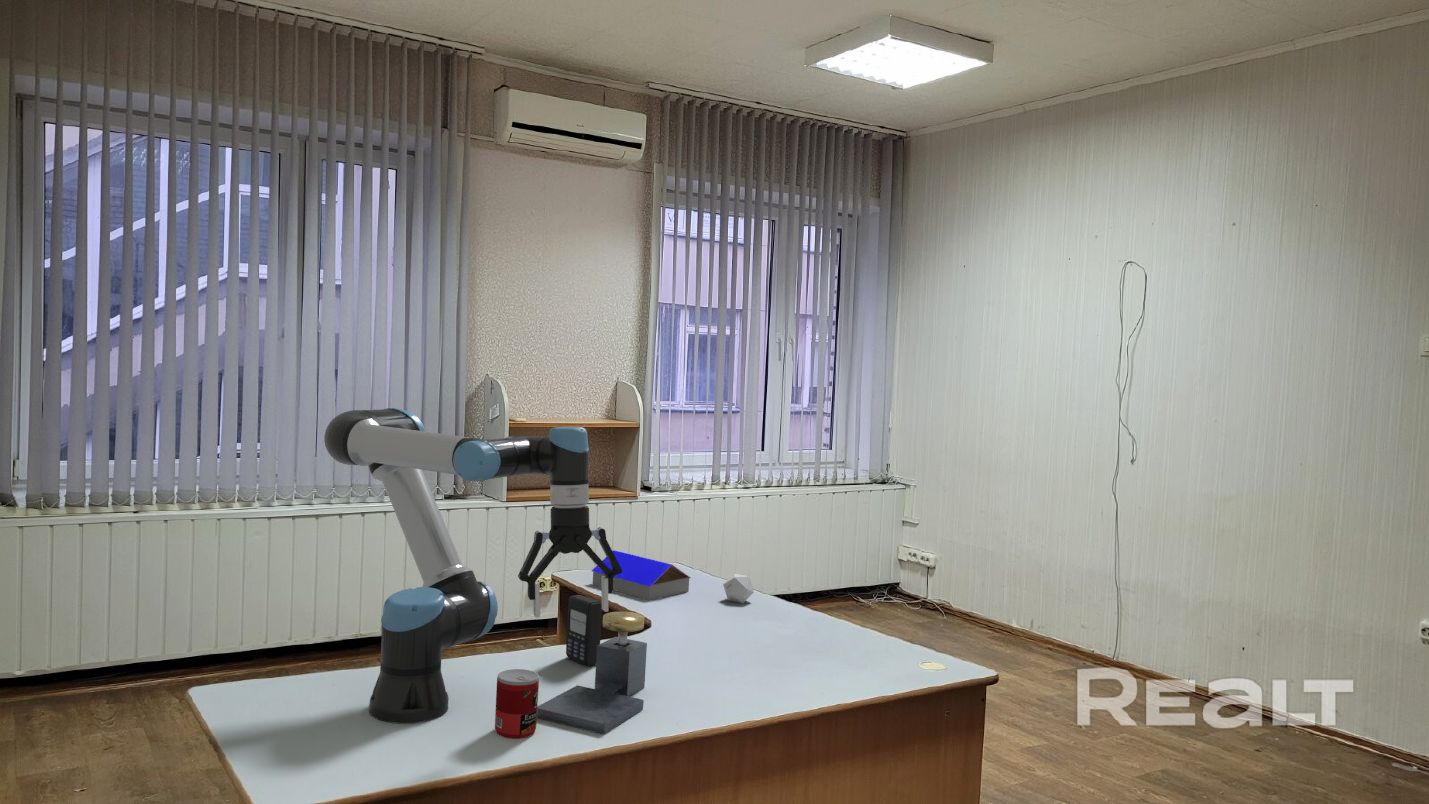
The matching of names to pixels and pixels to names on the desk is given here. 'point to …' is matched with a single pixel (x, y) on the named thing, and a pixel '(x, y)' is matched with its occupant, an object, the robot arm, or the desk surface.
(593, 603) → the card reader
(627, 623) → the door knob
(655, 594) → the house
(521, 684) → the canned food
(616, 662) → the grey stepped stand
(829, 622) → the desk surface
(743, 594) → the die
